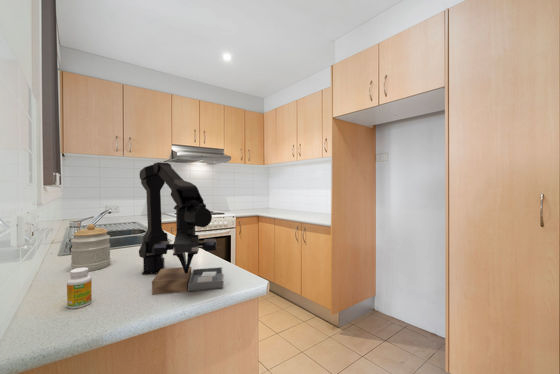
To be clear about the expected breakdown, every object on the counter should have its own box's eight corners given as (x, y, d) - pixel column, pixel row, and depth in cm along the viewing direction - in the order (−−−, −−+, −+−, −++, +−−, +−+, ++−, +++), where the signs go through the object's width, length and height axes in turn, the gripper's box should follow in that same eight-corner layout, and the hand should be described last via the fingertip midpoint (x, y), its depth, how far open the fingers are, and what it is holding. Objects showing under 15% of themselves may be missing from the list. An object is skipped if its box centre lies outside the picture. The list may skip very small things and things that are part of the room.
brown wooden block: (152, 294, 77) (151, 281, 77) (161, 280, 89) (160, 268, 89) (187, 291, 80) (187, 278, 80) (191, 277, 91) (191, 266, 91)
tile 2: (212, 280, 81) (212, 287, 82) (212, 276, 86) (212, 282, 86) (197, 282, 80) (197, 288, 80) (198, 277, 85) (198, 283, 85)
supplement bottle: (72, 311, 68) (71, 274, 68) (63, 306, 70) (63, 270, 70) (95, 303, 72) (94, 268, 72) (86, 298, 75) (86, 265, 75)
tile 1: (214, 275, 86) (214, 281, 86) (216, 271, 90) (216, 277, 90) (200, 276, 85) (200, 282, 85) (203, 272, 90) (203, 277, 90)
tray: (188, 291, 79) (187, 283, 79) (192, 276, 93) (192, 269, 93) (222, 288, 82) (222, 280, 82) (222, 273, 95) (222, 267, 95)
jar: (86, 274, 96) (85, 227, 96) (62, 270, 100) (62, 225, 100) (118, 264, 109) (117, 222, 108) (96, 261, 113) (95, 221, 113)
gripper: (147, 229, 72) (147, 285, 72) (215, 226, 77) (216, 279, 77) (156, 224, 83) (157, 272, 83) (216, 221, 87) (216, 267, 87)
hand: (186, 272), depth 82 cm, fingers closed
